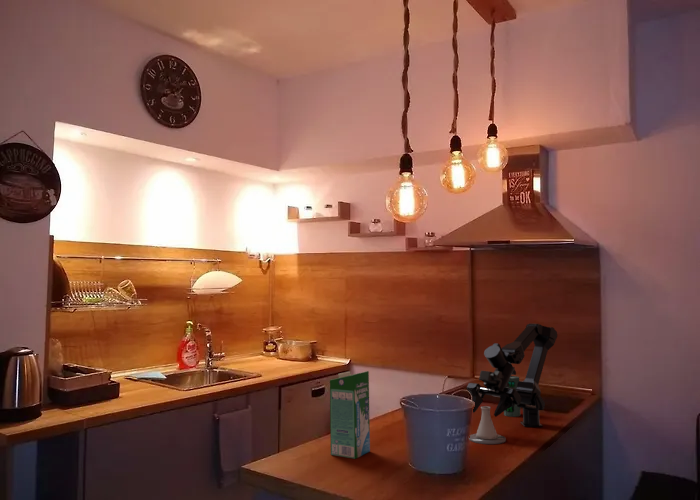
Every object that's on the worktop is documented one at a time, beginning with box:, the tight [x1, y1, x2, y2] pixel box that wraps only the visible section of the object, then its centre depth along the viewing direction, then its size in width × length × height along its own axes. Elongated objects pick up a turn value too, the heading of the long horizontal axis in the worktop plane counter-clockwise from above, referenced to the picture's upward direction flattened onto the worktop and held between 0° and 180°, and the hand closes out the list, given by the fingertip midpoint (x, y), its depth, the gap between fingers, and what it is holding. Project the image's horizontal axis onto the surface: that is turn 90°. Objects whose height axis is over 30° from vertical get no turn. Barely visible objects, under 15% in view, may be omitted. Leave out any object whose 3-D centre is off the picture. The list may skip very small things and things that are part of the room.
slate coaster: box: [468, 433, 507, 445], centre depth 184 cm, size 12×12×1 cm
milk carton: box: [329, 370, 371, 460], centre depth 171 cm, size 9×9×25 cm
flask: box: [475, 405, 499, 439], centre depth 185 cm, size 7×7×10 cm
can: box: [503, 375, 522, 418], centre depth 220 cm, size 6×6×15 cm
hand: (483, 413), depth 184 cm, fingers open, 8 cm apart
